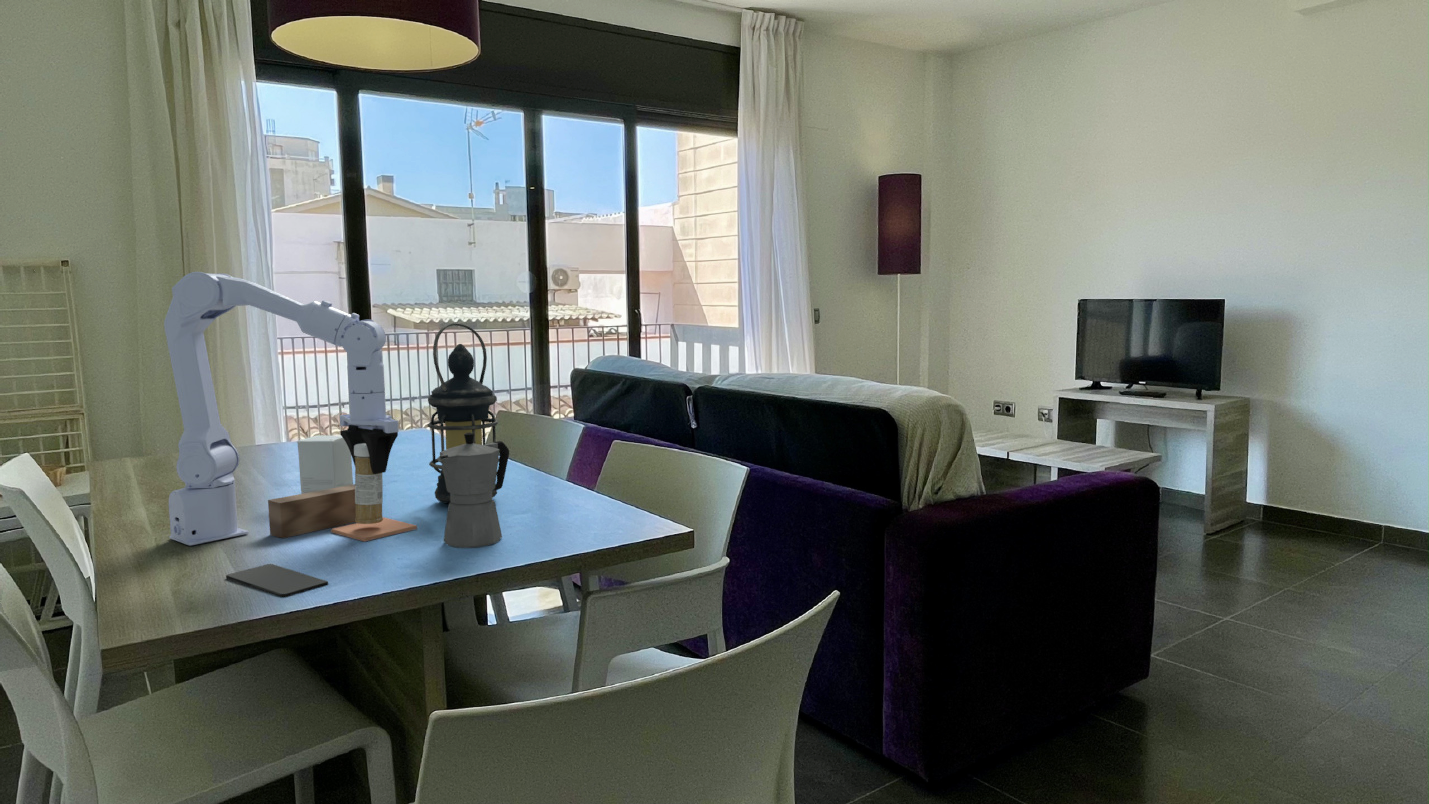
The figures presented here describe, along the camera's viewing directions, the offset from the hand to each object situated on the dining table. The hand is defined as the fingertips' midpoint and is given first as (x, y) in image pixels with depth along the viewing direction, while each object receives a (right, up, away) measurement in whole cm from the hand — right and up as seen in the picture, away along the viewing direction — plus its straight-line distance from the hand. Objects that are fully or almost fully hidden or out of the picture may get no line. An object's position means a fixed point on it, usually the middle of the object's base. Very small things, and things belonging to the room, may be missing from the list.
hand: (370, 471), depth 151 cm
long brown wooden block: (-10, -10, +5) cm, 15 cm away
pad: (0, -10, +1) cm, 10 cm away
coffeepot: (+19, -11, -4) cm, 23 cm away
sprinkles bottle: (0, -9, 0) cm, 9 cm away
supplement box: (-18, -8, +25) cm, 32 cm away
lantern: (+10, -8, +23) cm, 26 cm away
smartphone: (-3, -14, -26) cm, 30 cm away
